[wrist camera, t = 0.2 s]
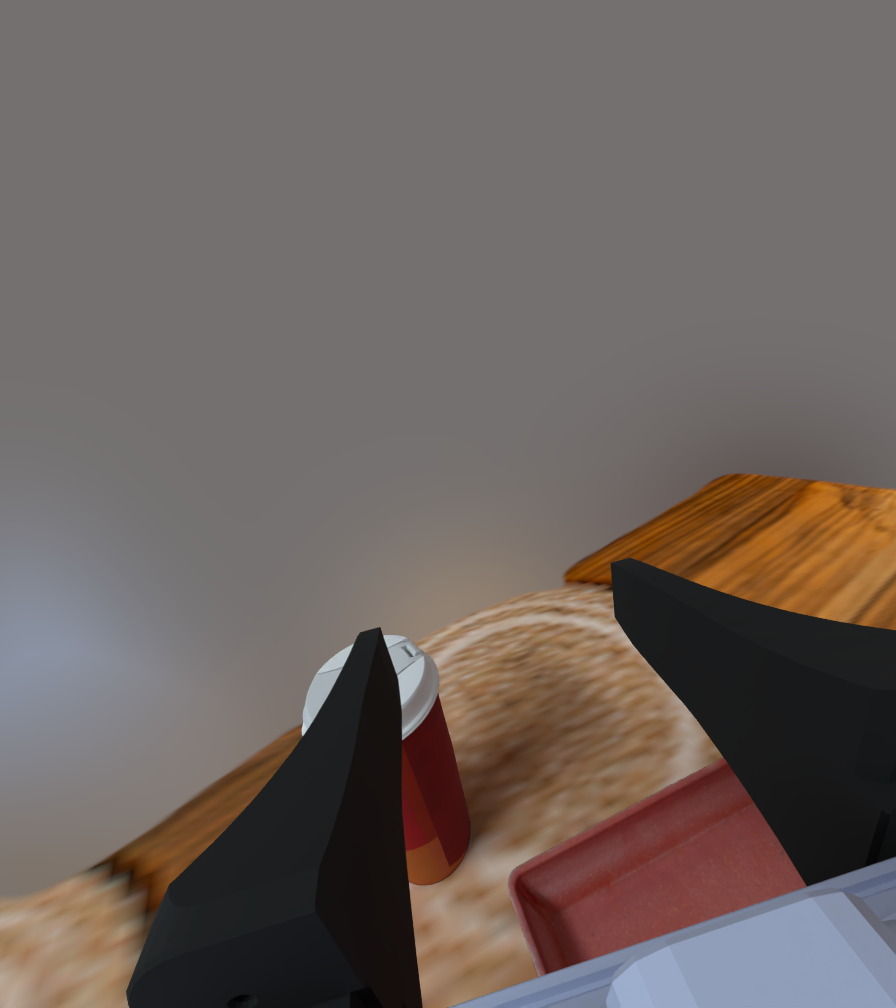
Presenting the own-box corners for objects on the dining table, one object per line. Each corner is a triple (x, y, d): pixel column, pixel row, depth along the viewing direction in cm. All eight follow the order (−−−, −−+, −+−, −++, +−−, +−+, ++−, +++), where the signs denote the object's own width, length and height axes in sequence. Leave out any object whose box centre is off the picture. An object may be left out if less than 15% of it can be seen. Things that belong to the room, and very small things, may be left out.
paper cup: (447, 757, 32) (397, 612, 27) (510, 843, 26) (460, 674, 21) (356, 828, 29) (280, 679, 24) (402, 947, 23) (312, 777, 18)
